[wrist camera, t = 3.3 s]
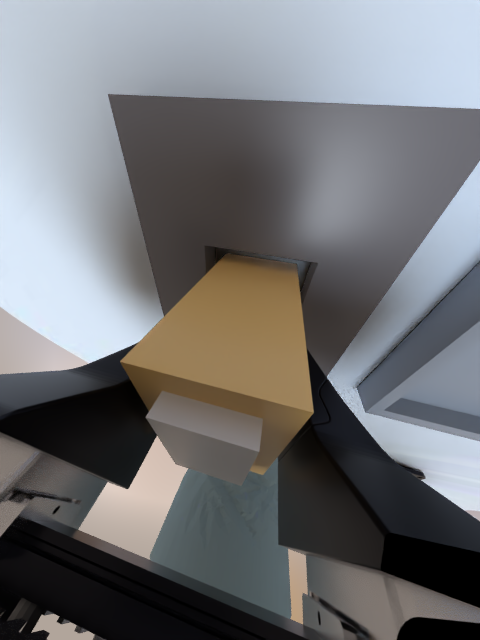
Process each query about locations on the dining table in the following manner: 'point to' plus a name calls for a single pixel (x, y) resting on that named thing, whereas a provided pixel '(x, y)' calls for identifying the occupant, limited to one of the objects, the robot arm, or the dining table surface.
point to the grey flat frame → (293, 193)
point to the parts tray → (434, 368)
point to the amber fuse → (228, 369)
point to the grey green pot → (228, 537)
